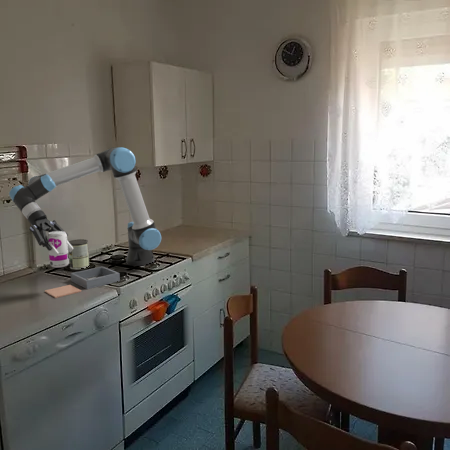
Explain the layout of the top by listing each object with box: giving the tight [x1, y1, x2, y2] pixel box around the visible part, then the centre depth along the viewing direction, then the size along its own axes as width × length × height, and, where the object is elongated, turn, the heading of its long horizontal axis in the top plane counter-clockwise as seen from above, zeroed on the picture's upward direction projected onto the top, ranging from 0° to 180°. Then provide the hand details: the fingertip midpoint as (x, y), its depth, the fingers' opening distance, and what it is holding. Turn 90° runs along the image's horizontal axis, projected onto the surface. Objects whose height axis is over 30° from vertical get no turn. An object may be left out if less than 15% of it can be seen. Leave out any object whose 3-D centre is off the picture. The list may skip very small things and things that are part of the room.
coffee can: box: [68, 238, 90, 270], centre depth 255 cm, size 10×10×14 cm
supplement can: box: [47, 230, 70, 268], centre depth 211 cm, size 8×8×15 cm
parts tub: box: [70, 265, 121, 290], centre depth 230 cm, size 17×17×4 cm
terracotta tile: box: [44, 284, 82, 299], centre depth 215 cm, size 12×12×1 cm
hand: (64, 252), depth 210 cm, fingers closed on supplement can, 8 cm apart
